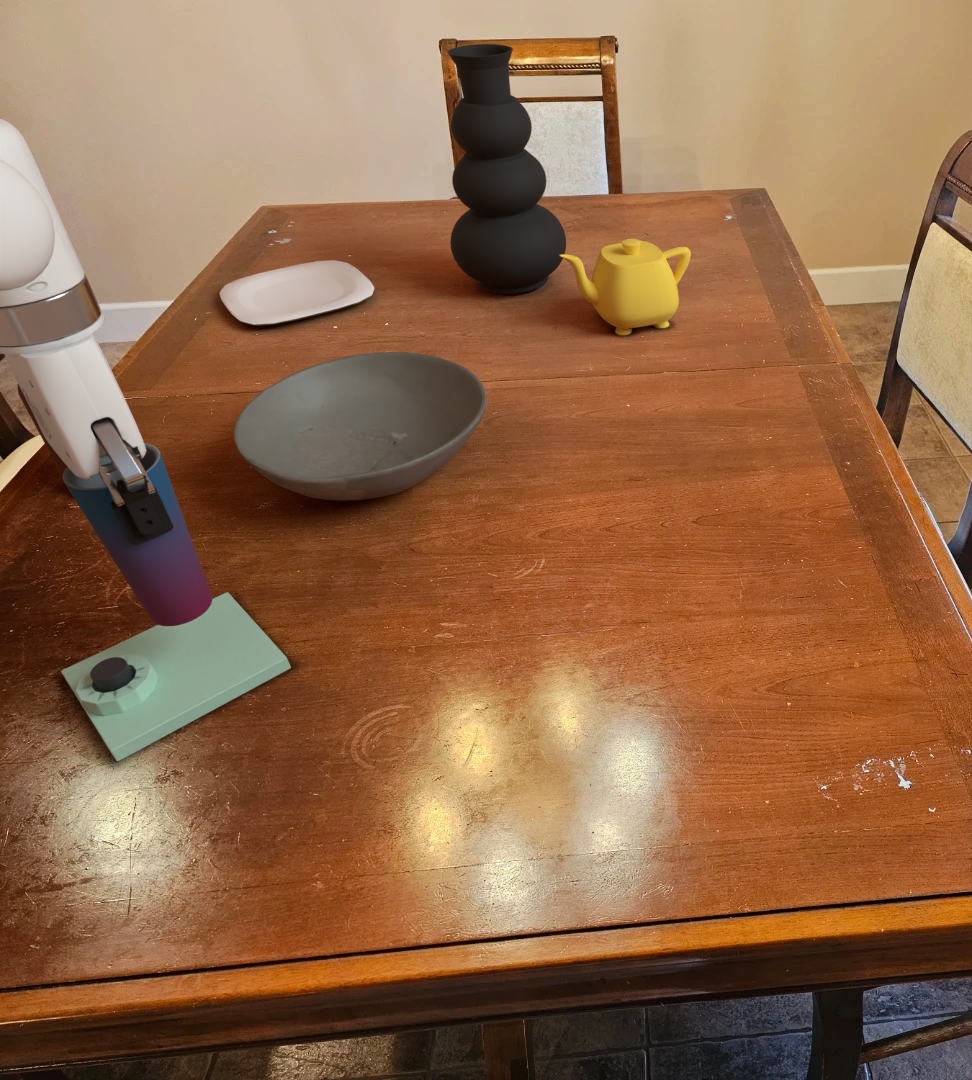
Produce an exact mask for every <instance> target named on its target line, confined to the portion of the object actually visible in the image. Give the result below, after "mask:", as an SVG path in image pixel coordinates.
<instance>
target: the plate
mask: <svg viewBox="0 0 972 1080" xmlns="http://www.w3.org/2000/svg"><path fill="white" fill-rule="evenodd" d="M375 290H376V288H375V286H374V284H373V283H372V281H371V280H370V279H369V278H368V277H367V275H365V274H363V272H361V271H360V270H359V269H358V268H357V267H355V266H354V265H352V264H350V263H348V262H345V261H341V260H336V259H331V260H315V261H309V262H304V263H298V264H293V265H290V266H284V267H281V268H277V269H272V270H267V271H262V272H259V273H254V274H252V275H248V276H244V277H241V278H238V279H235V280H233V281H231V282H229V283H227V284H225V285H223V287H222V288H221V289H220V291H219V297H220V300H221V302H222V303H223V305H224V306H225V308H226V309H227V310H228V312H229V313H230V314H231V315H232V317H233V318H234V319H235V320H237V321H238V322H239V323H243V324H246V325H251V326H255V327H261V326H275V325H281V324H285V323H291V322H295V321H300V320H305V319H309V318H313V317H316V316H320V315H321V316H322V315H324V314H328V313H332V312H336V311H340V310H343V309H346V308H349V307H352V306H356V305H358V304H360V303H362V302H364V301H366V300H369V299H370V298H372V297H373V296H374V293H375Z"/></svg>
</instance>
